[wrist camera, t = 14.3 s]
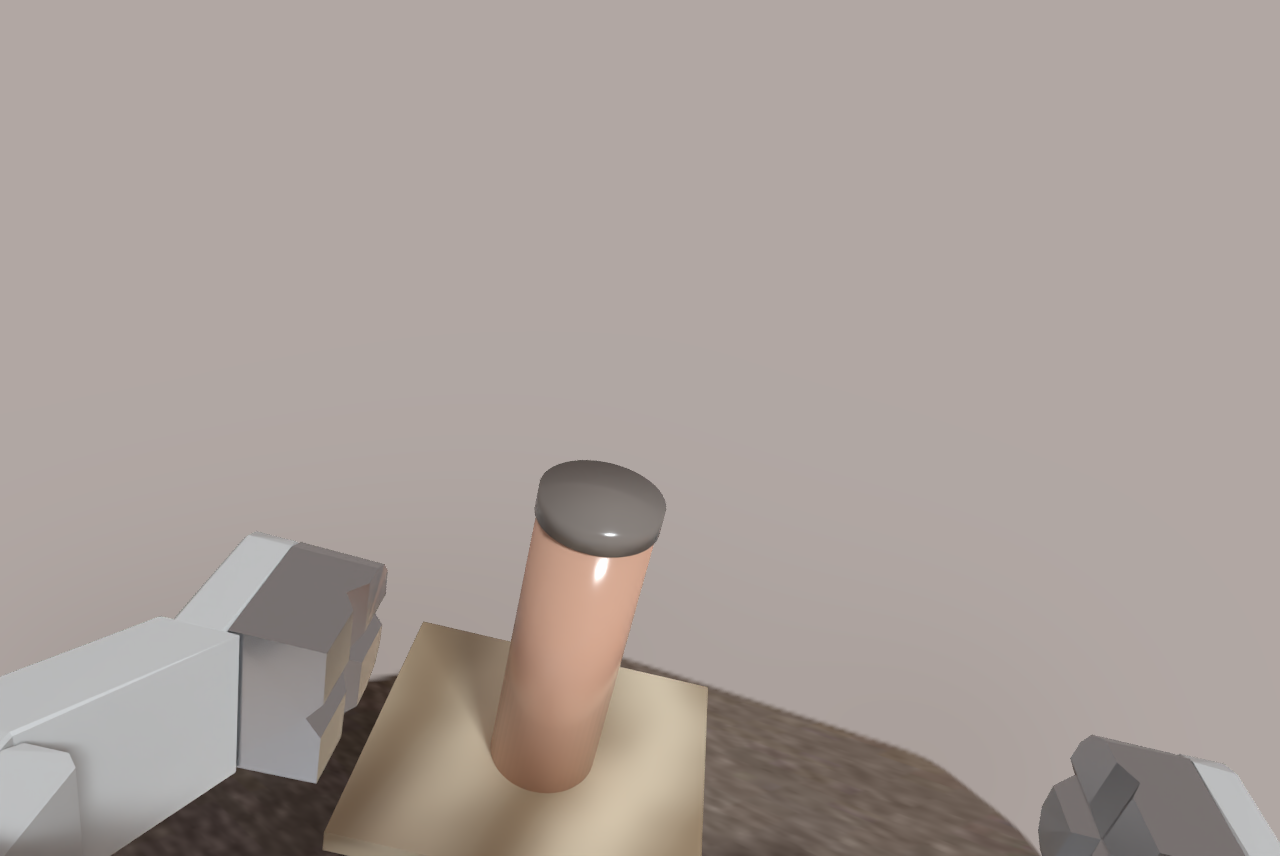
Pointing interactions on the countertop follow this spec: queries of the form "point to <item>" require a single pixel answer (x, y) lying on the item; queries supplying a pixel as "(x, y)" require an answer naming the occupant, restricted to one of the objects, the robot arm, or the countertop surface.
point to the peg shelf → (489, 803)
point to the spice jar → (573, 620)
